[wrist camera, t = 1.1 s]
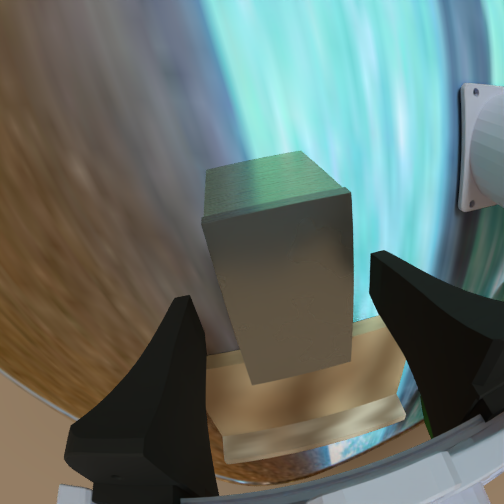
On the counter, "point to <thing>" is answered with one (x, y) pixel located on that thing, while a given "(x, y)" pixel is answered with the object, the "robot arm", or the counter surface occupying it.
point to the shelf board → (306, 399)
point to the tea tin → (283, 262)
